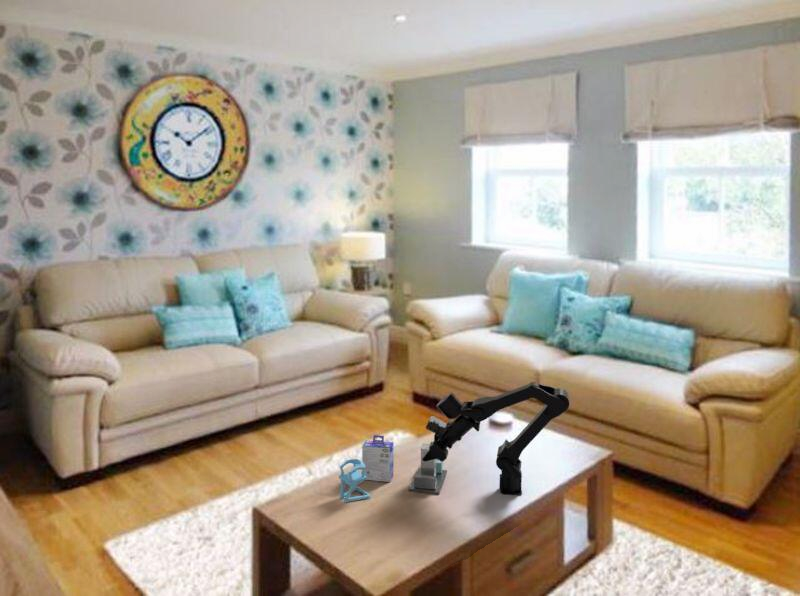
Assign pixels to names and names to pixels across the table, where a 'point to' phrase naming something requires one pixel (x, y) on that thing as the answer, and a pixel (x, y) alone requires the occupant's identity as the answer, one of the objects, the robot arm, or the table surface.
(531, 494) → the table surface
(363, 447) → the ink cartridge box
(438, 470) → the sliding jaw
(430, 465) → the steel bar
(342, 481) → the chair
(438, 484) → the bench vise
